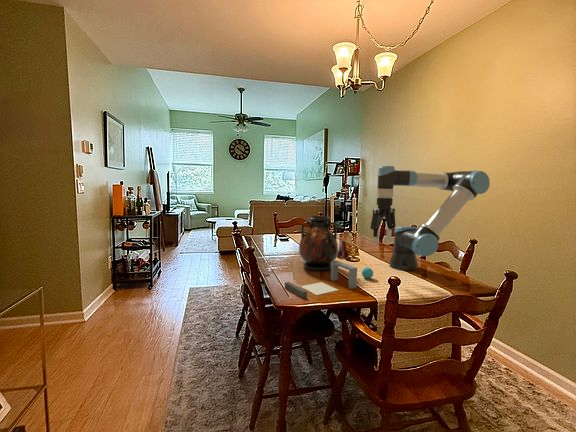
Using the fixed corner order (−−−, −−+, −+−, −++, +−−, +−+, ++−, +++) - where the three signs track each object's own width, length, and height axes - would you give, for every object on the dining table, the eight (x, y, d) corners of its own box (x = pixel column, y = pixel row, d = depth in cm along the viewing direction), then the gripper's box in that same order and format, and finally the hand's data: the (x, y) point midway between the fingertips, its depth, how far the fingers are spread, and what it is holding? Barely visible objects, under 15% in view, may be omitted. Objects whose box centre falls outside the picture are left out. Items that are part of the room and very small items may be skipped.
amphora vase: (336, 263, 181) (338, 215, 178) (338, 274, 159) (341, 220, 156) (299, 261, 183) (300, 214, 180) (297, 272, 161) (298, 219, 158)
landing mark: (321, 282, 146) (321, 282, 146) (338, 290, 136) (338, 289, 136) (300, 286, 140) (300, 286, 140) (316, 295, 130) (316, 294, 130)
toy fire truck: (338, 259, 191) (339, 242, 190) (334, 254, 203) (334, 238, 202) (349, 259, 191) (350, 242, 190) (344, 254, 204) (345, 238, 203)
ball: (367, 276, 157) (367, 265, 157) (375, 279, 153) (376, 268, 152) (359, 277, 155) (359, 266, 154) (367, 280, 150) (368, 269, 149)
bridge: (335, 278, 152) (335, 260, 151) (356, 287, 140) (357, 267, 139) (330, 279, 151) (331, 261, 149) (351, 288, 138) (352, 268, 137)
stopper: (288, 287, 139) (288, 281, 138) (306, 297, 127) (306, 291, 127) (284, 287, 138) (284, 282, 137) (302, 298, 126) (302, 292, 126)
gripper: (392, 196, 163) (390, 239, 165) (363, 197, 152) (361, 242, 154) (404, 197, 157) (402, 241, 159) (375, 198, 145) (373, 245, 148)
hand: (382, 242), depth 157 cm, fingers open, 8 cm apart
